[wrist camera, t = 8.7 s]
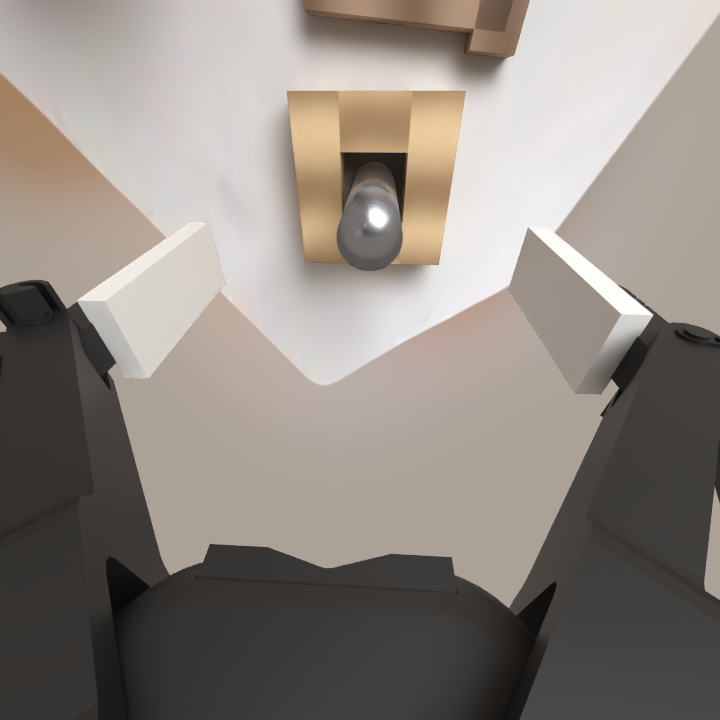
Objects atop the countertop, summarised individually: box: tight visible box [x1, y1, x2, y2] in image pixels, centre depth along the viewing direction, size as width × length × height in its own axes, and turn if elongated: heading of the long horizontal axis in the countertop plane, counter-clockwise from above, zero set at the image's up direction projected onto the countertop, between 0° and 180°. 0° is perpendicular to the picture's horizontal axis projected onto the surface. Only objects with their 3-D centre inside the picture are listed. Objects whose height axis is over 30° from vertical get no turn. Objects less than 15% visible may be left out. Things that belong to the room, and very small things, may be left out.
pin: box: [336, 162, 403, 271], centre depth 23 cm, size 4×4×14 cm
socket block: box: [287, 91, 466, 265], centre depth 27 cm, size 12×12×4 cm
